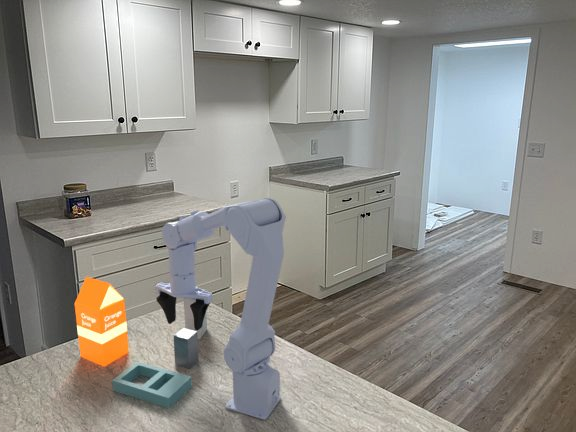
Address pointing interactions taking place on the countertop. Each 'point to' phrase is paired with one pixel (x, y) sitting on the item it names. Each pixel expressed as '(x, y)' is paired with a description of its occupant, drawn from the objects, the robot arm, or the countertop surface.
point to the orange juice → (101, 322)
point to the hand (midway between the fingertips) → (185, 325)
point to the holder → (153, 384)
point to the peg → (186, 348)
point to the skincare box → (190, 319)
